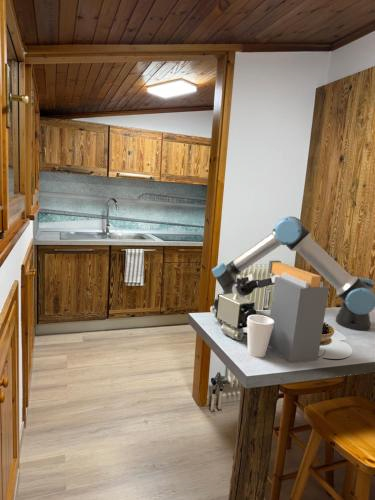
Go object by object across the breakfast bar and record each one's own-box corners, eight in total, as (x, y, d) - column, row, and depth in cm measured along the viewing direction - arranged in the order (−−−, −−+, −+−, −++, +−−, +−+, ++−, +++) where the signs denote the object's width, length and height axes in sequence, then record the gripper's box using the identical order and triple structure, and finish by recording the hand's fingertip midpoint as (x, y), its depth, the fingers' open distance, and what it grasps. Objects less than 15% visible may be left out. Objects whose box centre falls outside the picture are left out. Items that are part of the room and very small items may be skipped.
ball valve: (256, 343, 136) (262, 299, 133) (240, 347, 131) (246, 302, 128) (225, 326, 150) (230, 286, 147) (210, 329, 145) (214, 288, 142)
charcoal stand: (291, 341, 140) (301, 272, 135) (317, 359, 126) (329, 282, 121) (266, 344, 135) (275, 272, 131) (290, 362, 122) (301, 283, 117)
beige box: (205, 304, 154) (222, 302, 160) (203, 320, 155) (220, 317, 161) (218, 311, 146) (236, 308, 152) (217, 327, 148) (234, 324, 153)
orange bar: (277, 272, 142) (279, 260, 141) (319, 288, 121) (321, 275, 120) (267, 272, 140) (269, 260, 139) (309, 289, 119) (311, 275, 118)
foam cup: (238, 349, 129) (242, 316, 127) (257, 345, 133) (261, 313, 131) (255, 361, 121) (259, 325, 118) (275, 356, 125) (279, 322, 123)
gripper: (266, 295, 168) (293, 284, 149) (220, 296, 159) (242, 285, 141) (264, 280, 171) (290, 267, 152) (218, 280, 162) (239, 267, 143)
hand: (267, 276), depth 146 cm, fingers open, 13 cm apart
